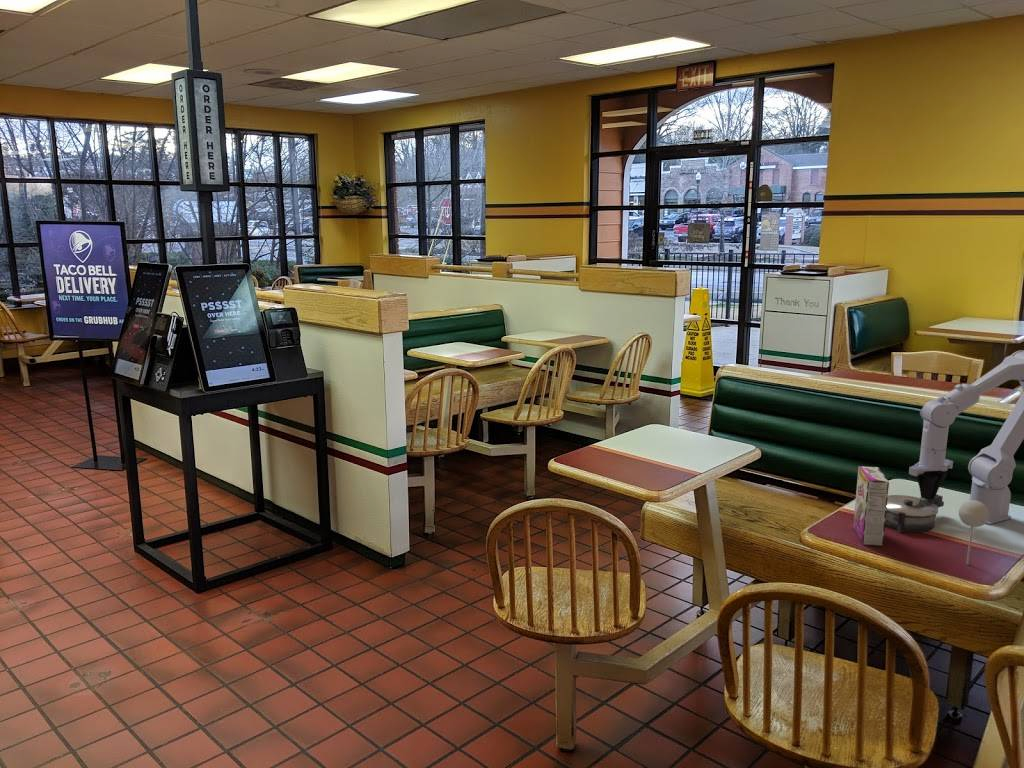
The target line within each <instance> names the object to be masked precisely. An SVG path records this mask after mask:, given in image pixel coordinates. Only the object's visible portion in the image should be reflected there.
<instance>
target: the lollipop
mask: <svg viewBox="0 0 1024 768" xmlns="http://www.w3.org/2000/svg"><path fill="white" fill-rule="evenodd" d="M958 517H959V519H960V521H961V522H962V523H963V524H964V525H966V526H968V527H970V530H969V538H968V539H969V541H968V545H967V546H968V547H967V548H968V549H967V555H966V563H965V564H966V565H967V566H968V565H969V562H970V555H971V548H972V542H973V533H974V528H979V527H982V526H984V525H985V524H987V523H986V522H987V521H988V519H989V511H988V509H987V507H986V506H985V505H984V504H983V503H981V502H979V501H975V500H971V501H970V500H967V501H965V502H963V503H962V504H961V505H960V507H959V509H958Z"/></svg>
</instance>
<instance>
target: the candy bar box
mask: <svg viewBox="0 0 1024 768" xmlns="http://www.w3.org/2000/svg"><path fill="white" fill-rule="evenodd" d="M856 481H857V482H856V491H855V503H854V505H855V507H854V514H853V515H854V516H853V526H852V527H853V530H854V531H855V533H856V535H857V537H858V539H859V541H860V543H861V544H862V545H863V546H870V547H871V546H874V547H883V546H884V538H885V529H886V525H885V520H886V509H887V499H888V495H889V487H890V486H889V485H890V481H889V480H888V478H887V477H886V476H885V474H884V473H883V472H882V470H881V469H880V468H879V467H877V466H864V465H861V466H857V480H856Z"/></svg>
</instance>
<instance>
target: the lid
mask: <svg viewBox="0 0 1024 768" xmlns="http://www.w3.org/2000/svg"><path fill="white" fill-rule="evenodd" d="M940 501H943V496H942V495H939V494H936V496H935V498H933V499H932V498H930V500H927V499H924V498H921V496H920V497H917V496H911V495H906V494H905V495H904V494H890V495H889V494H888V499H887V509H886V511H889V512H891V513H895V514H898V515H899V512H903V513H905V516H909V517H930V516H934V515H936V516H937V515H938V513H939V507H937V505H935V504H934V503H936V502H940Z"/></svg>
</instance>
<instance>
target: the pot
mask: <svg viewBox="0 0 1024 768" xmlns="http://www.w3.org/2000/svg"><path fill="white" fill-rule="evenodd" d="M934 504H935V505H937V507H938V508H942V507H944V505H945V502H944V501H943V500H942V501H940V502H936V503H934ZM936 519H937V514H936V515H934V516H930V517H909V516H905V513H903V512H899V515H898V514H895V513H891V512H889V511H886V520H885V526H886V525H888V526H887V527H889V526H890V527H889V528H891V527H893V528H892V529H894V528H896V529H895V530H896V532H897V531H898V532H897V533H899V532H900V534H901V532H902V533H904V531H905V532H909V531H910V533H911V532H912V533H927V532H931V531H933V530H934V529H935V528H936ZM903 530H904V531H903ZM930 530H931V531H930ZM926 531H927V532H926Z"/></svg>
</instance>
